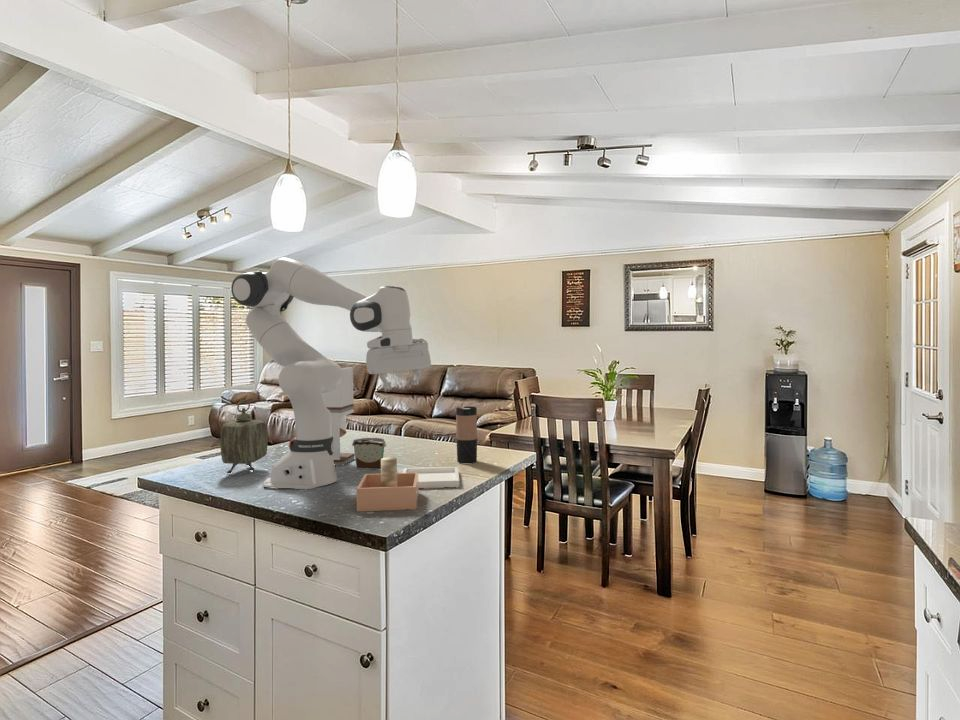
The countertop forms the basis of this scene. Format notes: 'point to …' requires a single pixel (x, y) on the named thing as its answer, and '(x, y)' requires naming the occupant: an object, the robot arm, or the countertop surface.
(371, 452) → the food container
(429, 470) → the tray
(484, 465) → the countertop surface
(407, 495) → the peach storage bin
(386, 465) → the dowel pin
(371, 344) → the robot arm
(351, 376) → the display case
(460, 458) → the travel mug
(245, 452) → the tabletop clock
